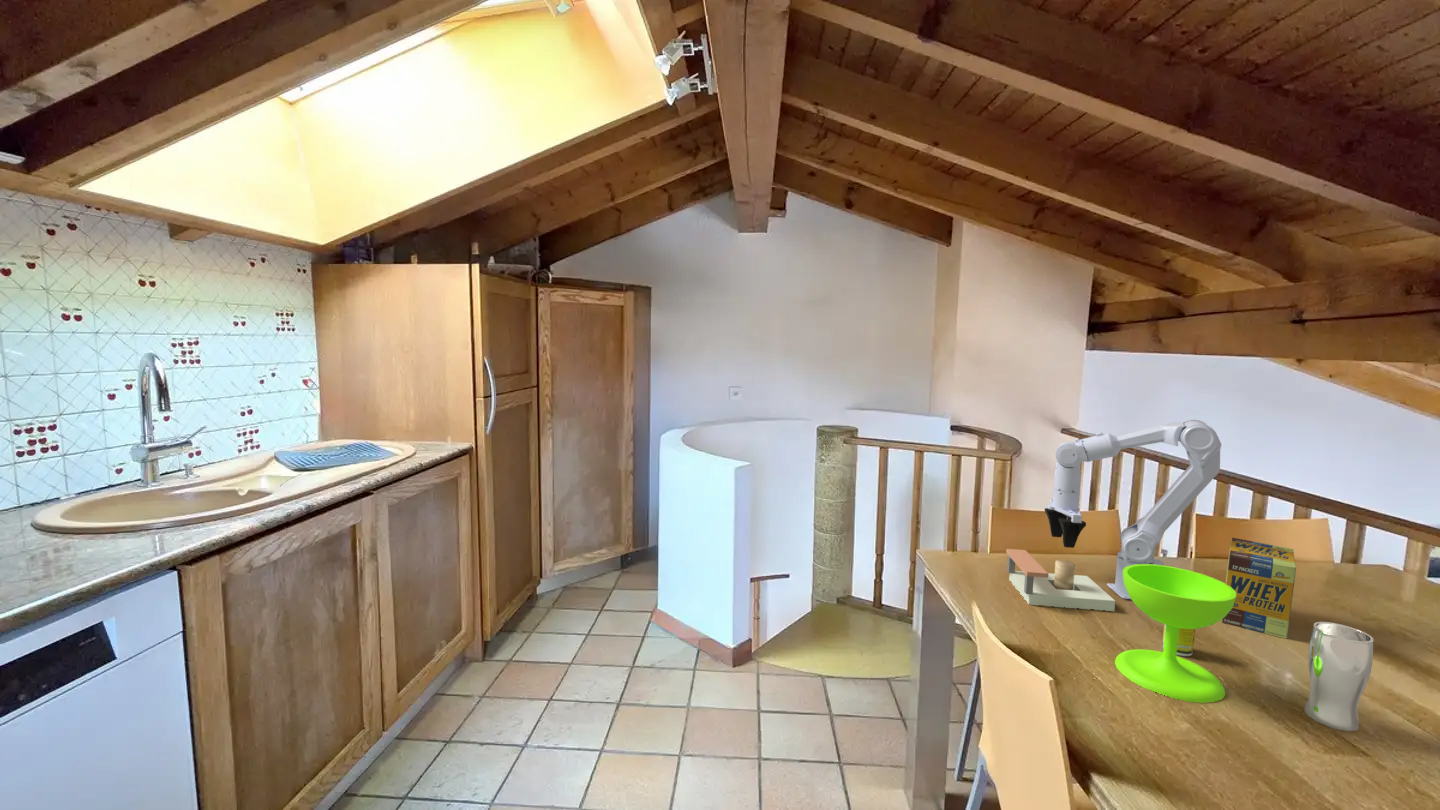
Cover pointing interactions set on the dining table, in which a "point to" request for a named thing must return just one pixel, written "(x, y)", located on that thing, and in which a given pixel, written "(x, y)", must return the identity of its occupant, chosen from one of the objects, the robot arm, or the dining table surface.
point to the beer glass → (1338, 674)
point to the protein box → (1261, 586)
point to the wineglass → (1174, 629)
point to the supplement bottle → (1183, 641)
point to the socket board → (1064, 593)
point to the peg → (1064, 575)
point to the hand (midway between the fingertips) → (1062, 541)
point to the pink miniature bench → (1025, 567)
